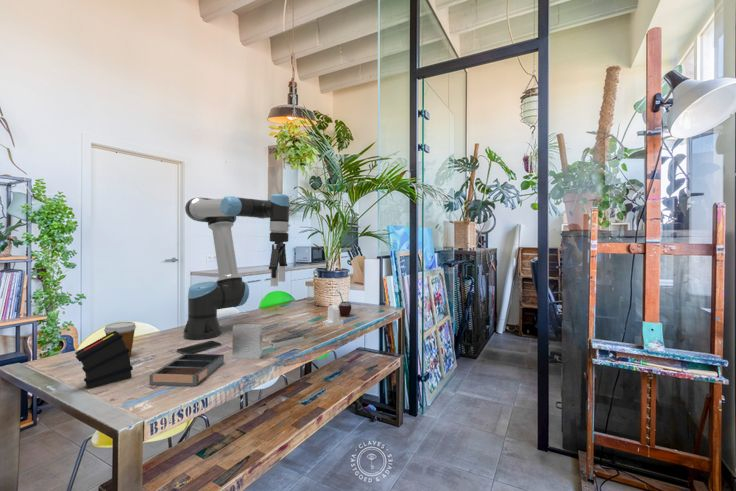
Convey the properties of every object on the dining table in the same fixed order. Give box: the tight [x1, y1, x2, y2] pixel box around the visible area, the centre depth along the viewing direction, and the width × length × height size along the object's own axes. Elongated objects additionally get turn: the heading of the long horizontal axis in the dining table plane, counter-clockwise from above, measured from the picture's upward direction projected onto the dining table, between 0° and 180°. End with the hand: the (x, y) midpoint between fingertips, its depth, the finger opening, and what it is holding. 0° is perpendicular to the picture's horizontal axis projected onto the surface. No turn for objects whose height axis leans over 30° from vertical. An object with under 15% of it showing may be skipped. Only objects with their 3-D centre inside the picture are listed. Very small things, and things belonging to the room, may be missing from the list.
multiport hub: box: [268, 334, 305, 349], centre depth 145 cm, size 4×14×2 cm, turn 136°
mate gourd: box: [336, 289, 352, 318], centre depth 197 cm, size 8×8×15 cm
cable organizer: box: [322, 304, 344, 328], centre depth 178 cm, size 5×10×10 cm, turn 130°
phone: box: [176, 340, 222, 355], centre depth 136 cm, size 8×1×15 cm
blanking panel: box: [231, 323, 263, 360], centre depth 128 cm, size 10×3×12 cm, turn 89°
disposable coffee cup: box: [103, 321, 137, 357], centre depth 124 cm, size 10×10×12 cm
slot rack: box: [149, 353, 225, 387], centre depth 112 cm, size 14×19×3 cm
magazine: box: [74, 331, 134, 389], centre depth 104 cm, size 4×13×15 cm, turn 140°
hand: (278, 283), depth 142 cm, fingers open, 13 cm apart
